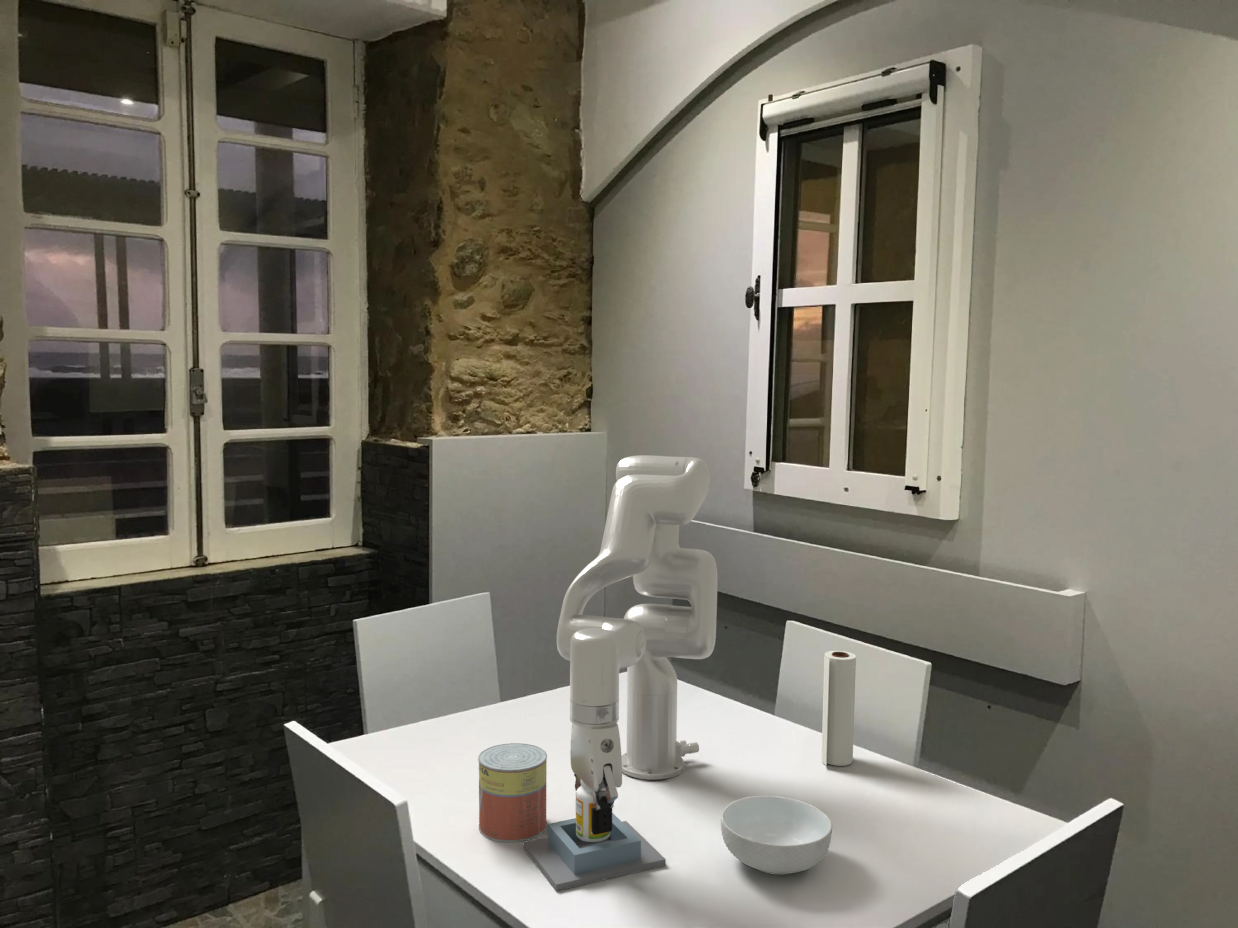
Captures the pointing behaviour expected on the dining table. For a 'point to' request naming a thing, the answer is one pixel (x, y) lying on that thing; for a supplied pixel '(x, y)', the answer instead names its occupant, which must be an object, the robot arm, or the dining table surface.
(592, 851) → the caddy
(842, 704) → the paper towel roll
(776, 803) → the cereal bowl
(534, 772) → the canned food
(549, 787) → the dining table surface
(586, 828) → the supplement bottle
